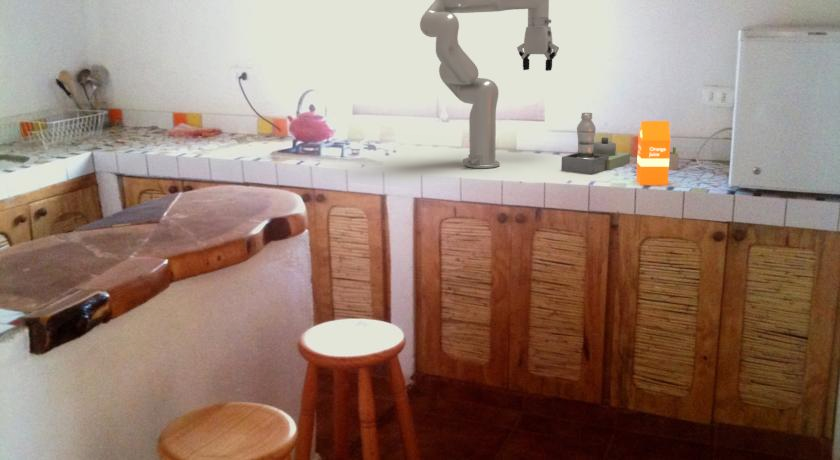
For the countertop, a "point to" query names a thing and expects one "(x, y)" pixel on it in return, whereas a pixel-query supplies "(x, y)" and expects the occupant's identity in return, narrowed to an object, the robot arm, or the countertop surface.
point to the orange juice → (653, 153)
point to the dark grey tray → (584, 164)
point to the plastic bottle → (586, 137)
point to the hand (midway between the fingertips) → (537, 70)
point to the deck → (618, 160)
